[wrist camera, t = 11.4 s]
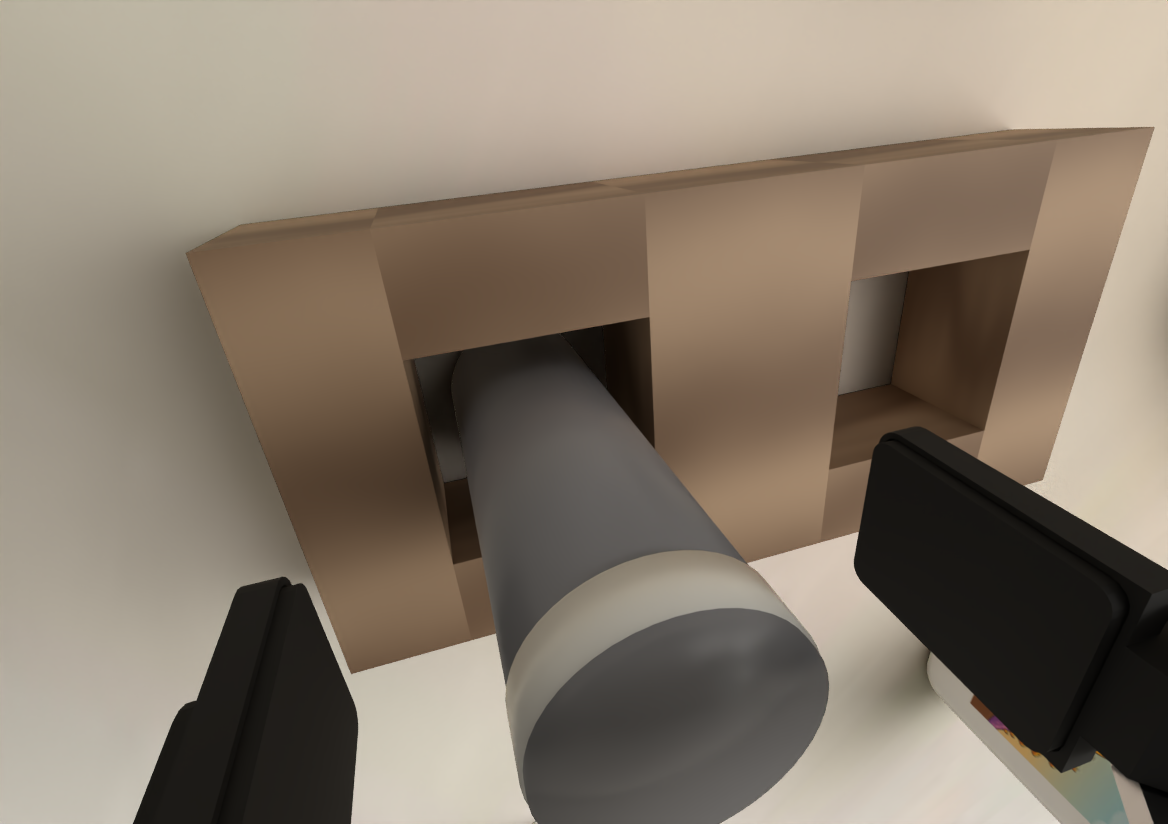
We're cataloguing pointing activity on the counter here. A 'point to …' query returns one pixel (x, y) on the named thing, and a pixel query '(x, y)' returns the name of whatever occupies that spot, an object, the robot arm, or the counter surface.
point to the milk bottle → (1035, 760)
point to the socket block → (666, 341)
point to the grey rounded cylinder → (621, 608)
